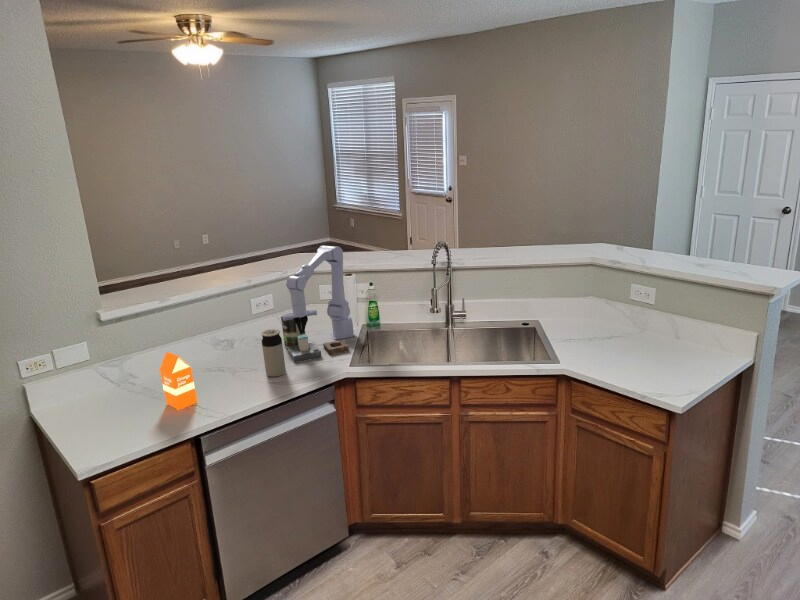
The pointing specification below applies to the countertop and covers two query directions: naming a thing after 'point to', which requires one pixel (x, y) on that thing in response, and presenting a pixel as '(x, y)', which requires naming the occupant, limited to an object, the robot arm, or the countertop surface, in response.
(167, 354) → the orange juice
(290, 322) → the coffee can
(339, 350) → the wooden square frame
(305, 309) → the robot arm
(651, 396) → the countertop surface
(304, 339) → the plug
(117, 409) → the countertop surface
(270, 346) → the travel mug
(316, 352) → the port panel
